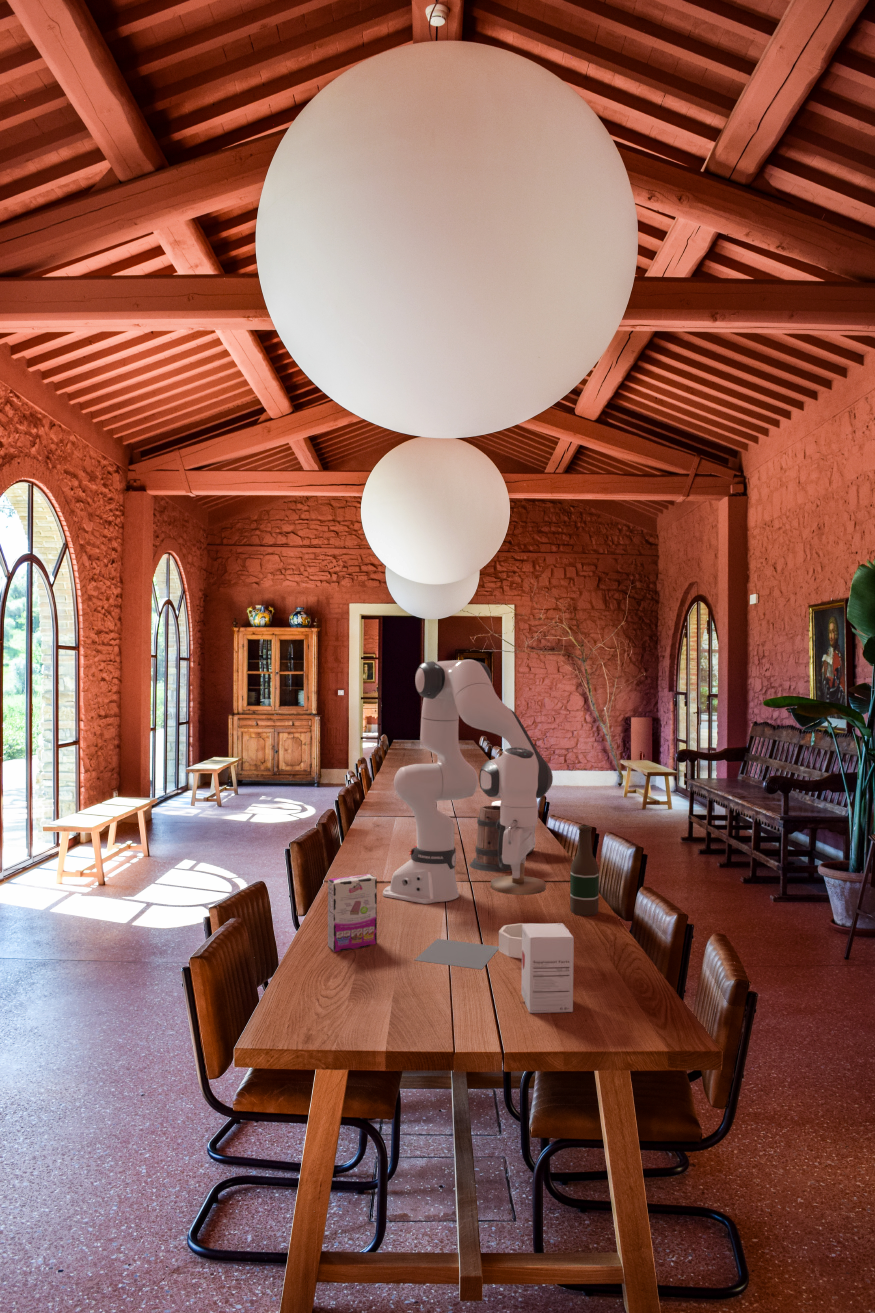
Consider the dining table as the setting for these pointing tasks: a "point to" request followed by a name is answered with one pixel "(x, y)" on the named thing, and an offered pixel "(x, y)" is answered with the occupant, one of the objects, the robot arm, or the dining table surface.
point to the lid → (518, 884)
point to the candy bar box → (352, 912)
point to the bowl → (511, 940)
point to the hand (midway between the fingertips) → (518, 875)
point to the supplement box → (547, 968)
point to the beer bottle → (584, 877)
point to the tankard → (489, 841)
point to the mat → (458, 954)
